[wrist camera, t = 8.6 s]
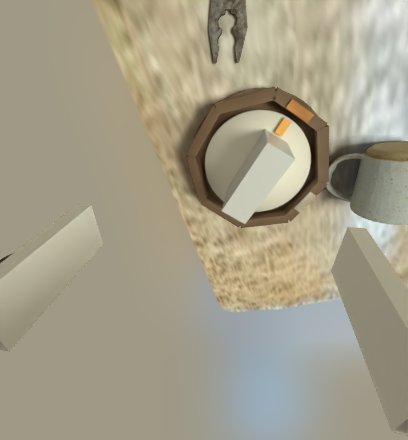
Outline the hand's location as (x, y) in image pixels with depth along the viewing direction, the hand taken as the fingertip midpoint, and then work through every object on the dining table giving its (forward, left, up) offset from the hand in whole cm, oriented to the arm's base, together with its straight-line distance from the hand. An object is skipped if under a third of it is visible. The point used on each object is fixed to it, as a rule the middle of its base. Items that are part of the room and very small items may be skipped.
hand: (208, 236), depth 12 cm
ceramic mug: (+8, +16, -24) cm, 30 cm away
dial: (+3, +2, -22) cm, 22 cm away
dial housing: (+3, +2, -23) cm, 24 cm away
